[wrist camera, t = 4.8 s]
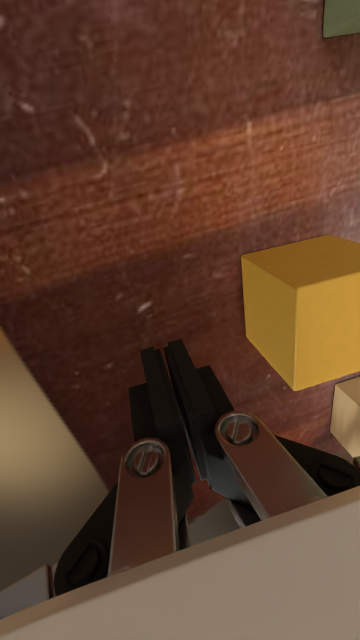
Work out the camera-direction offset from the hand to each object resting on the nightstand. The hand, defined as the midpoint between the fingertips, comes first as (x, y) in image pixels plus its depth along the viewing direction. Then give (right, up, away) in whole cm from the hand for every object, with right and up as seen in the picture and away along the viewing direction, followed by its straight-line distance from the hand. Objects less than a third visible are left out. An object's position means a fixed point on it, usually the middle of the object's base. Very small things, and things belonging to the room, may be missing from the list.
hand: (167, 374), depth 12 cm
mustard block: (+6, +4, +5) cm, 9 cm away
